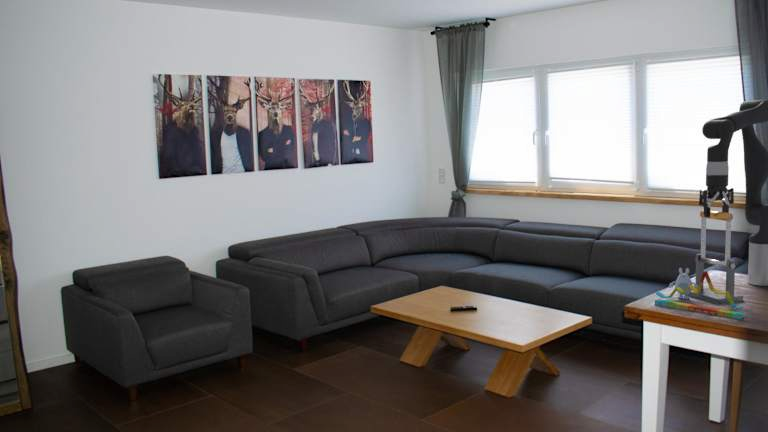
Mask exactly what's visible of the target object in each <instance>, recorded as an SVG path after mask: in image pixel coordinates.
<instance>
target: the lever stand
mask: <svg viewBox="0 0 768 432" xmlns="http://www.w3.org/2000/svg"><path fill="white" fill-rule="evenodd" d="M700 258H701V253H696V254H695V282H694V283H695V284H697V285H698V287H699V284H700V281H701V278H702V275H703V272H705V266H704V265H705V262H701V261H700ZM725 268H726V269H725V272H726V273H725V274H726V275H725V290H724V289H723V290H722V289H720V288H715V287H714V288H715V289H717V290H719V291H721V292H729V294H730V296H731V298H732V300H733V302H734V303H738V302H744V295H741V294H738V293H735V275H736V272H735V271H736V269H735V268H736V259H730V260H727V261H726V267H725ZM704 282H705V280H704V281H703V284H702V287H701V290H700V293H698V294H695V293H694V292H693V291H692V290H691V292H690V293H689V294H687V296H689V298H695V299H696V300H697V299H698V300H700V301H704V302H708V303H711V304H715V305H723V304H730V303H729V301H728V298H727V296H726V294H717V293H715V292H713V291H711V290H710V288H709V286H708V287H704Z"/></svg>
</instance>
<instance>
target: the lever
mask: <svg viewBox="0 0 768 432" xmlns="http://www.w3.org/2000/svg"><path fill="white" fill-rule="evenodd" d="M699 216H700V218H701V219H700V220H701V221H700V222H701V224H700V228H701V229H700V254H701V258H700V261H701V262H704V264H705V263H706V264H711V265H715V266H719V267H723V268H726V261H727V260H731V242H732V241H731V240H732V236H731V235H732V220H733V218H734V215H733V213H731V212H729V213H724V212H722V211H716V210H710V217H704V209H702V210H701V211H700V212H699ZM707 219H710V220H716V221H717V220H719V221H724V222H725V244H724V245H725V248H724V249H725V250H724V261H721V260H719V259H718V260H717V259H713V258H707V257H706V250H707V249H706V248H707V246H706V243H707V234H706V233H707Z"/></svg>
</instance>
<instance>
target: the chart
mask: <svg viewBox="0 0 768 432" xmlns="http://www.w3.org/2000/svg"><path fill="white" fill-rule="evenodd" d="M705 280H706V283H707V285H708V287H709V288H710V290H711V291H713V292H715V293H717V294H726V296H727V298H728V301H729V303H728V304H729V305H730V307H731V308H732V309H735V310H739V309H742V308H743V309H744V308H745V307H744V306H743V305H741V306H740V305H739V306H738V305H736V304H735V302H733V300H732V298H731V296H730V294H729V292H721V291H719V290H717V289H718V288H716V289H715V287H714V285H713V283H712V281H711V278H710V275H709V272H708V271H707V270H706V271H704V272H703V275H702V278H701V281H700V284H699V287H698V289H696V288H695V287H694V284H692V285H691V286H689V287H688V288H687V289H686V290H685V291H684V290H682V289H681V288H680V287H676V288H675V287H674V289H673V291H672V292H671V293H670V294H669V295H664V294H663V293H661V291H657V292H654V293H655V295H657V296H658V297H659V298H657V299H655V300H654V305H656V306H660V307H667V308H672V309H678V310H684V311H690V312H695V313H699V314H700V313H701V314H706V315H712V316H713V315H714V316H718V317H724V318H730V319H734V320H735V319H736V320H742V319H744V313H743V312H739V311H733V310H728V309H721V308H715V307H710V306H709V307H708V306H702V305H697V304H691V303H685V302H680V301H679V302H678V301H674V300H667V299H669V298H672V297H673V296H674V295H675V293H677V290H678V291H679V292H680V293H682V294H683V293H685V292H687V291H688V290H689V289H691V290H692V291H693V292H694V293H695V294H698V293H700V290H701V287H702V284H703V281H704V282H705ZM703 285H704V284H703ZM660 298H661V299H660Z"/></svg>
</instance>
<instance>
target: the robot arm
mask: <svg viewBox="0 0 768 432" xmlns="http://www.w3.org/2000/svg"><path fill="white" fill-rule="evenodd" d="M767 122H768V99H756V100H755V99H754V100H745V101H742V102H741V104H740V106H739V111H734V112H732V113H729V114H727V115H725V116H723V117H716V118H713V119H709V120H707V121H706V122H705V123H704V124H703V126H702V130H701V131H702V134H703V136H704V137H705V138H706V139H709V140H719V142H718V143H717V144H713V145H709V146H708V147H707V155H706V157H707V158H706V167H705V170H706V171H705V173H706V174H705V186H707V187H706V188H707V189H700V190H699V199H698V200H699V201H698V205H699V206H702V207H703V210H704V217H710V211H711V206H712V204H714V203H715V201H716V202H717V201H719V202H720V203H721V204H722V206H721V212H724V213H730V212H729V211H730V206H731V205H733V204H734V203H735V201H734V199H735V195H734V194H735V193H734V191H735V190H734V188H733V187H728V185H729V149H730V145H731V141H732V138H733V136H734V133H736V132H737V131H740V130H741V135H742V143H743V144H742V146H743V163H744V164H743V165H744V176H745V203H744V204H745V207H744V215H745V219H746V221H747V223H748V224H749V225H752V226H758V227H759V228H758V232H756V233H753V234H750V235H749V237H748V265H747V266H748V268H747V270H748V271H747V283H748V284H749V285H754V286H760V287H762V286H763V287H767V286H768V203H762V190H763V187H764V185H765V183H766V182H767V180H768V149H767V148H766V147H765V146H764V144H763V143H762V141H761V140H760V139H759V138H758V135H757V134H756V129H755V127H754V125H756V124H764V123H767Z"/></svg>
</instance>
